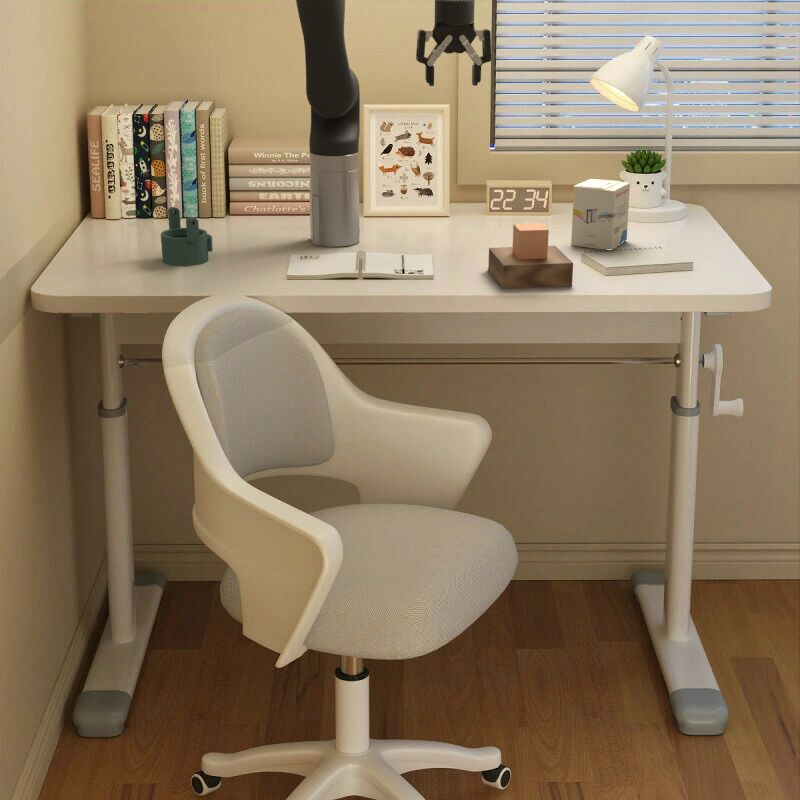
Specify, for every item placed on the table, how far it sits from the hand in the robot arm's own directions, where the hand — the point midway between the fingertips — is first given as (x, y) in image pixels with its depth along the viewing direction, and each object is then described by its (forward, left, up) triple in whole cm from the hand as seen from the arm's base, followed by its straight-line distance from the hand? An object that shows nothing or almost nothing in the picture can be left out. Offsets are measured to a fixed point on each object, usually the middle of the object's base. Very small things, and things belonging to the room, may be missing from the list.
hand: (453, 85), depth 242 cm
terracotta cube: (+7, -38, -24) cm, 46 cm away
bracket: (-52, -18, -28) cm, 62 cm away
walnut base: (+7, -38, -28) cm, 48 cm away
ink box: (+26, -16, -28) cm, 42 cm away
